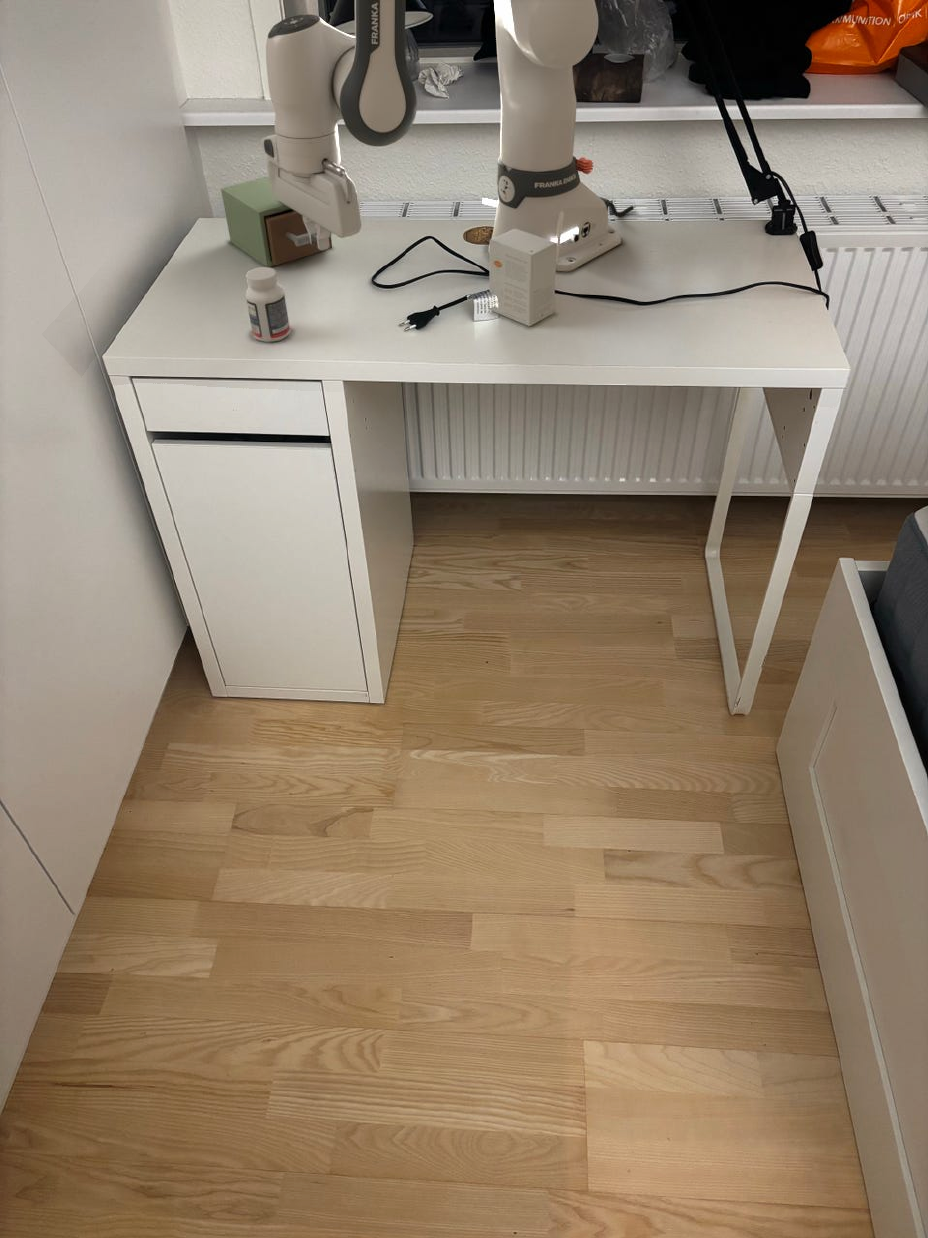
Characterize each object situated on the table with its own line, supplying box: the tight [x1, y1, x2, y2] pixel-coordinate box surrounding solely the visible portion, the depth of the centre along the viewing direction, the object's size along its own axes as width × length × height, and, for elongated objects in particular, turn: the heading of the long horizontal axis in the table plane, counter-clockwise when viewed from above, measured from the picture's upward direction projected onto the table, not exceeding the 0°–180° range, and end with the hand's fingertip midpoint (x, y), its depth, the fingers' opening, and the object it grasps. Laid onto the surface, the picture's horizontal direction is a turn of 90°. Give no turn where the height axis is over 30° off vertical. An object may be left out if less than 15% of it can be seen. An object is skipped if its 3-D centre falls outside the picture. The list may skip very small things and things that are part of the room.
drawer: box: [264, 209, 333, 266], centre depth 146 cm, size 16×10×7 cm, turn 38°
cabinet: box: [220, 175, 291, 268], centre depth 149 cm, size 13×12×9 cm
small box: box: [488, 229, 557, 327], centre depth 131 cm, size 8×6×10 cm
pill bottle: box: [245, 266, 291, 343], centre depth 127 cm, size 5×5×9 cm
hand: (320, 246), depth 141 cm, fingers closed
